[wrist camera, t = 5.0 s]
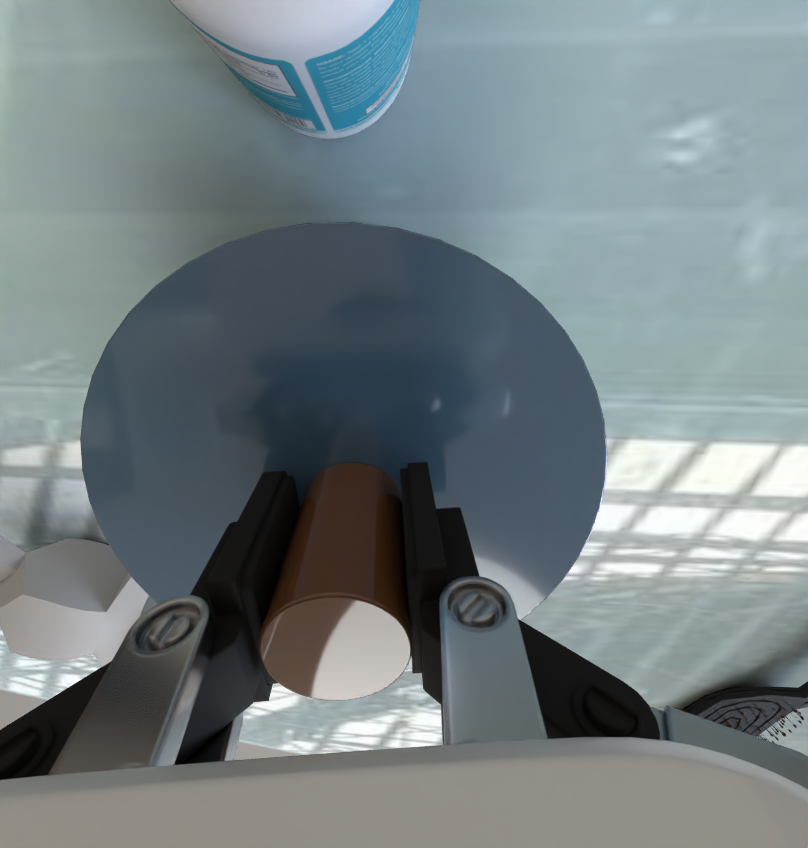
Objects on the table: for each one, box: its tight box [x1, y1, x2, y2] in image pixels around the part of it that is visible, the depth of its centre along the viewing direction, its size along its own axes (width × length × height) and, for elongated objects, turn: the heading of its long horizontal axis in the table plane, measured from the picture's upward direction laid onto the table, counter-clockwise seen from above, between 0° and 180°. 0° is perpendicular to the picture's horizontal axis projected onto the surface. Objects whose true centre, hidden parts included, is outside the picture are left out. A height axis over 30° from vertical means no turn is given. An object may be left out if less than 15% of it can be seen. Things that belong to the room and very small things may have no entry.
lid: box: [80, 222, 607, 701], centre depth 10 cm, size 14×14×6 cm
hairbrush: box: [683, 682, 808, 743], centre depth 36 cm, size 8×4×25 cm
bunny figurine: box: [0, 535, 158, 667], centre depth 25 cm, size 10×5×15 cm
